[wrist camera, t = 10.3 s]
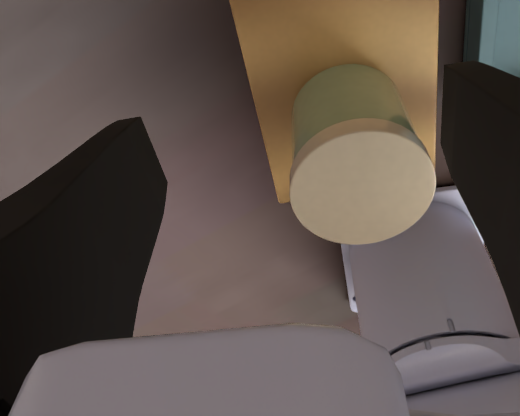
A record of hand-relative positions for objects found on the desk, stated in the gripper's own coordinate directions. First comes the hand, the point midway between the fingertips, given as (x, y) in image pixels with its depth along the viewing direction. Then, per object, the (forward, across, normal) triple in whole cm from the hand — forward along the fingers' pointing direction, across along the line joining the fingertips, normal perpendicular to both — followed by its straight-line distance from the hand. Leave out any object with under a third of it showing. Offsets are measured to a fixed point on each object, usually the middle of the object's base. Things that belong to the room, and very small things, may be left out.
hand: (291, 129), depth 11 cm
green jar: (+7, -2, +4) cm, 8 cm away
